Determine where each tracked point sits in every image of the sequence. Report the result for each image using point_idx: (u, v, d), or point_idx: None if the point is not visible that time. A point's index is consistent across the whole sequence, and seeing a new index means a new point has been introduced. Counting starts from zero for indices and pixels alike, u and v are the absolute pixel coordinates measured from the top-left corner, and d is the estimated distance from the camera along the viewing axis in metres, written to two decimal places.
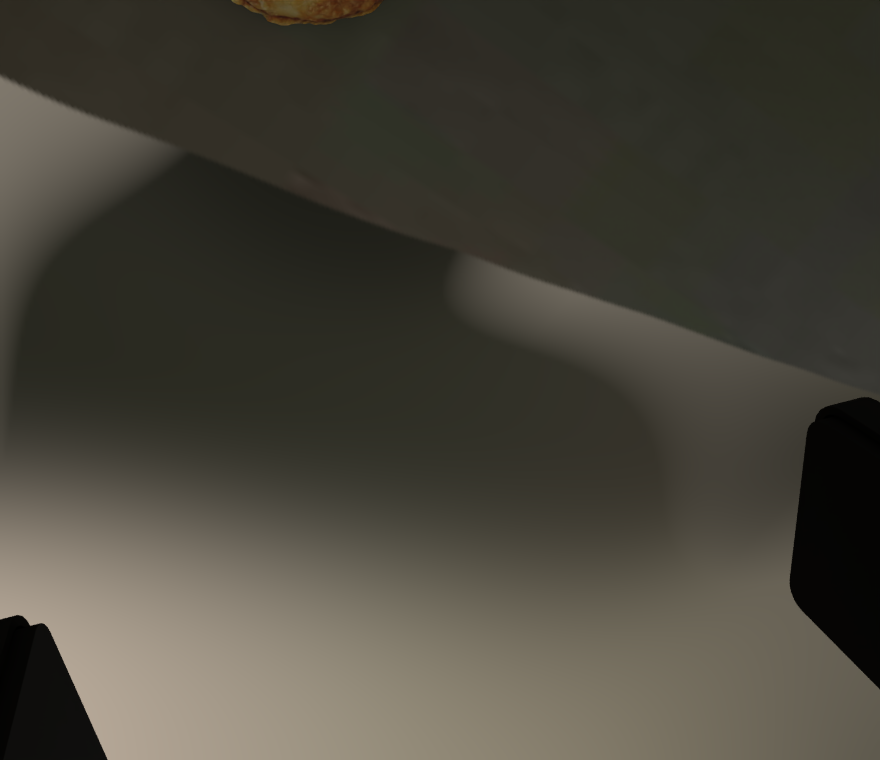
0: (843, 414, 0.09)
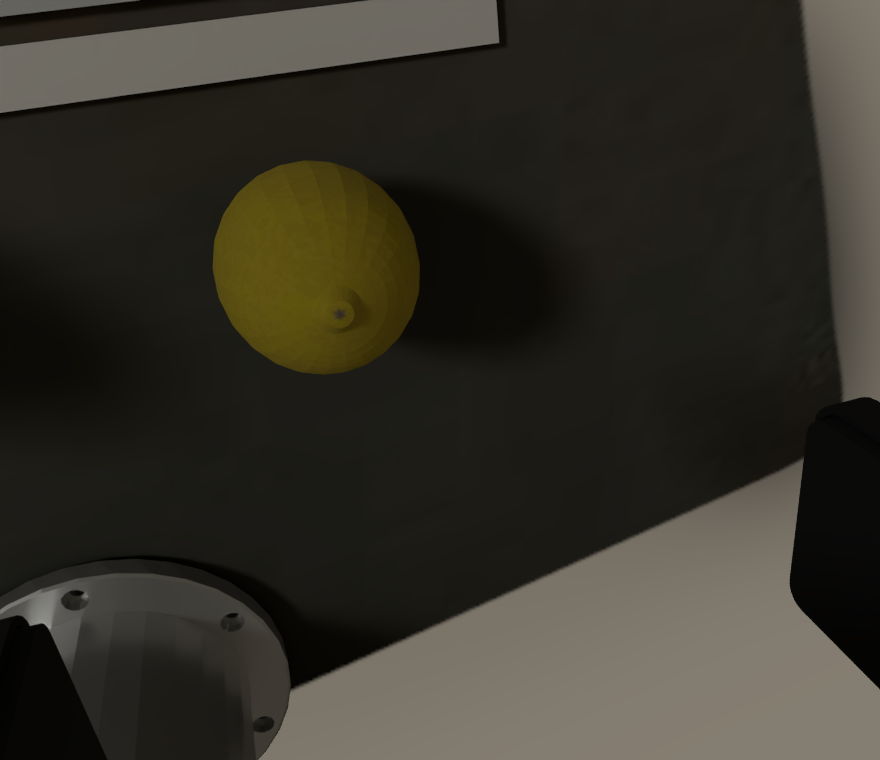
0: (843, 414, 0.09)
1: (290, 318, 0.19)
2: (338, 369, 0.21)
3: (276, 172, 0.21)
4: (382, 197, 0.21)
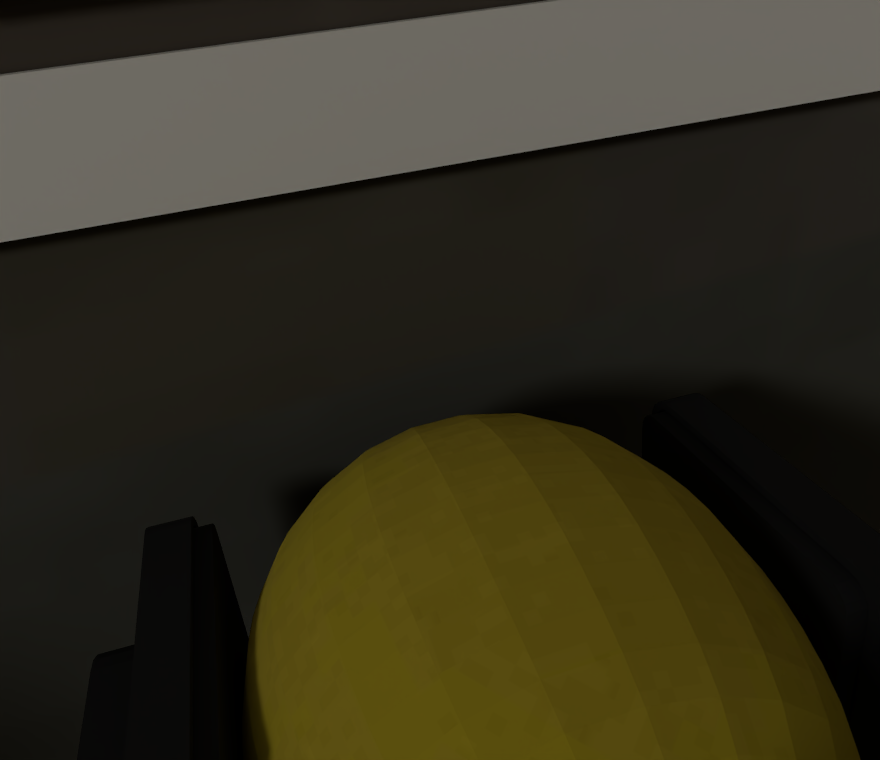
0: (670, 409, 0.10)
1: None
2: None
3: (437, 510, 0.07)
4: (761, 588, 0.07)
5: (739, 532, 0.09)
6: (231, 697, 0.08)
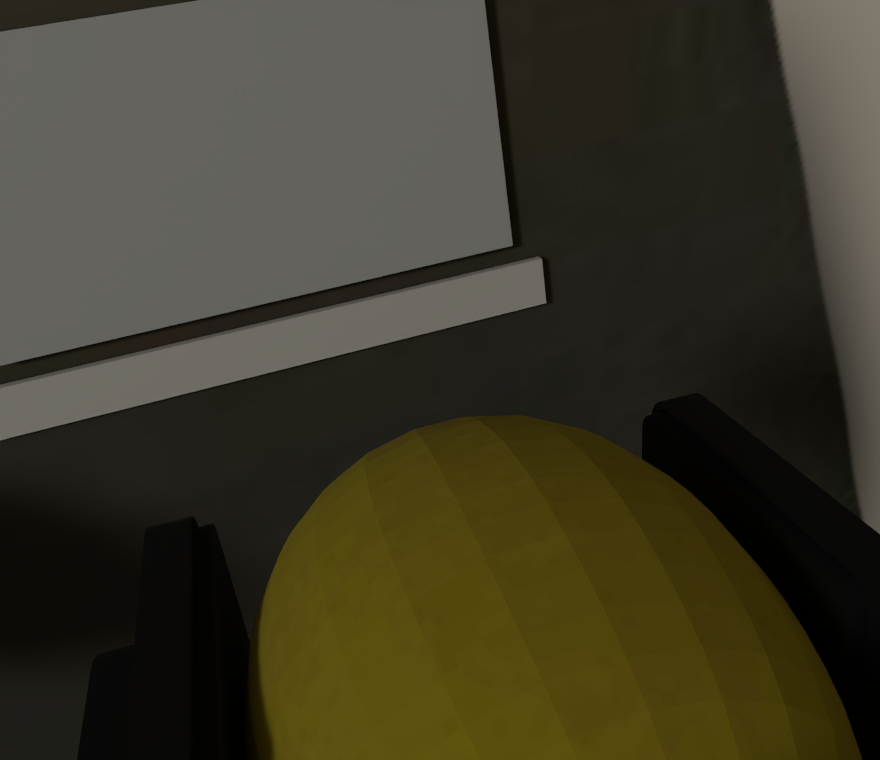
0: (670, 409, 0.10)
1: None
2: None
3: (440, 513, 0.07)
4: (763, 591, 0.07)
5: (739, 532, 0.09)
6: (231, 697, 0.08)
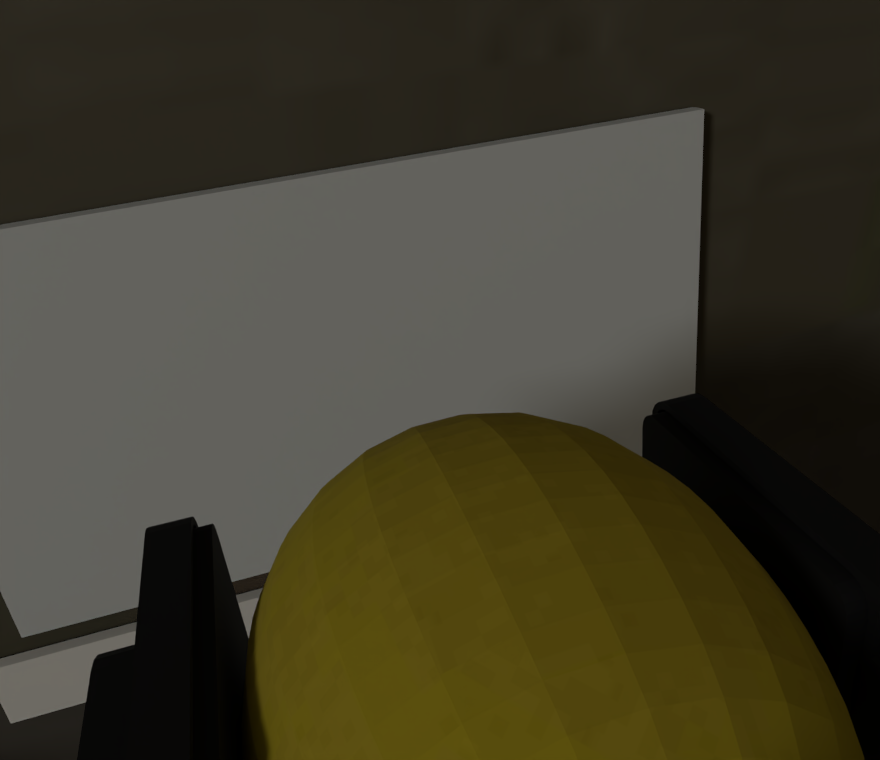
0: (670, 409, 0.10)
1: None
2: None
3: (438, 510, 0.07)
4: (764, 588, 0.07)
5: (739, 532, 0.09)
6: (231, 697, 0.08)
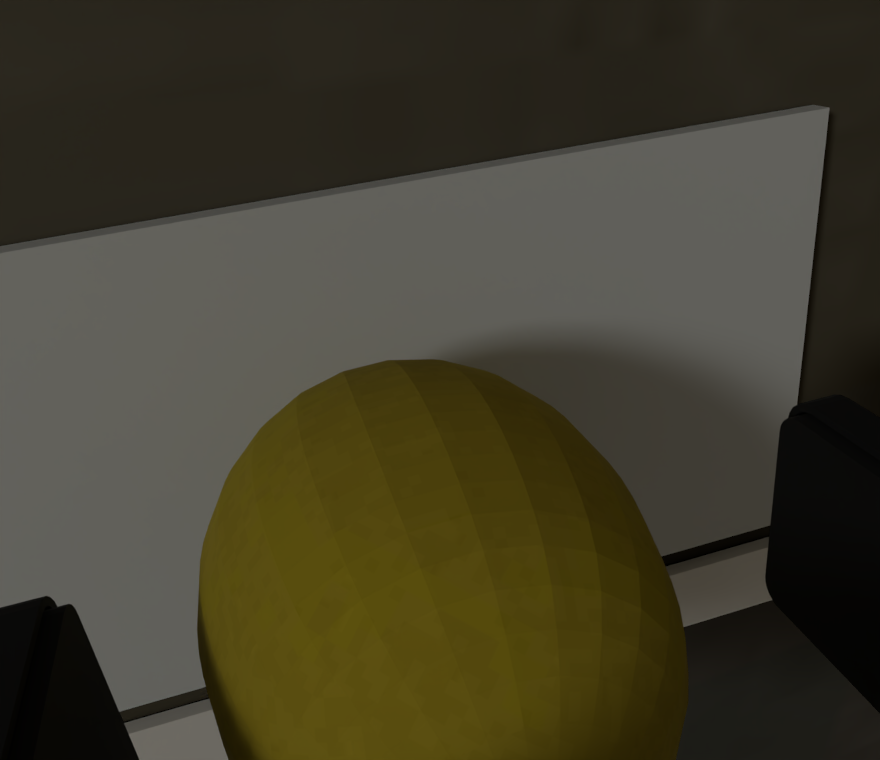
0: (814, 411, 0.10)
1: None
2: None
3: (346, 423, 0.09)
4: (603, 482, 0.09)
5: None
6: None
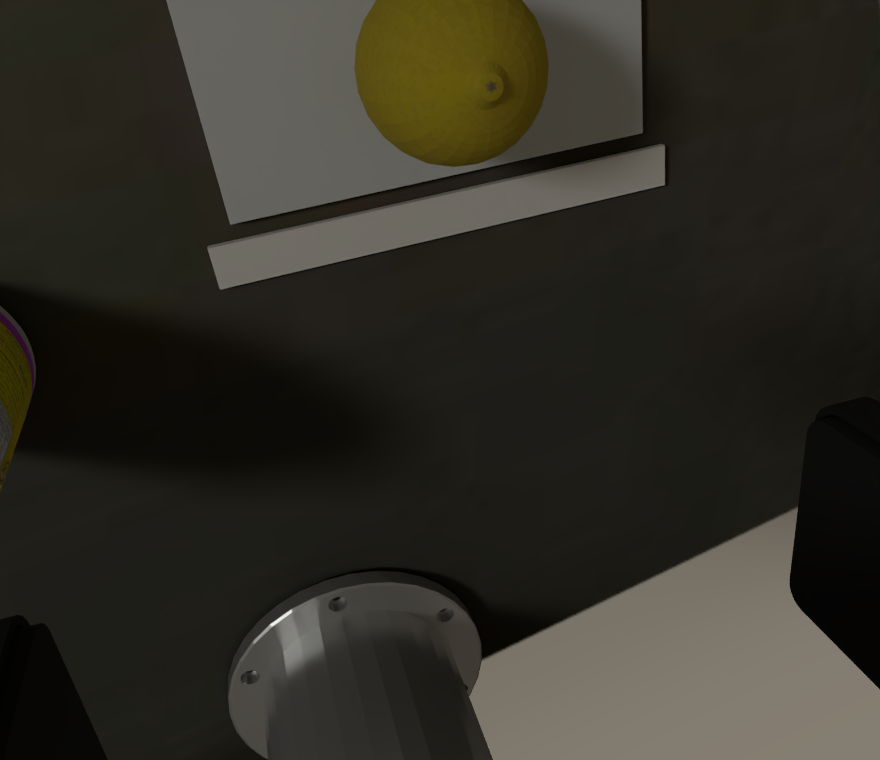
0: (843, 414, 0.09)
1: (444, 95, 0.21)
2: (479, 154, 0.23)
3: None
4: None
5: None
6: None
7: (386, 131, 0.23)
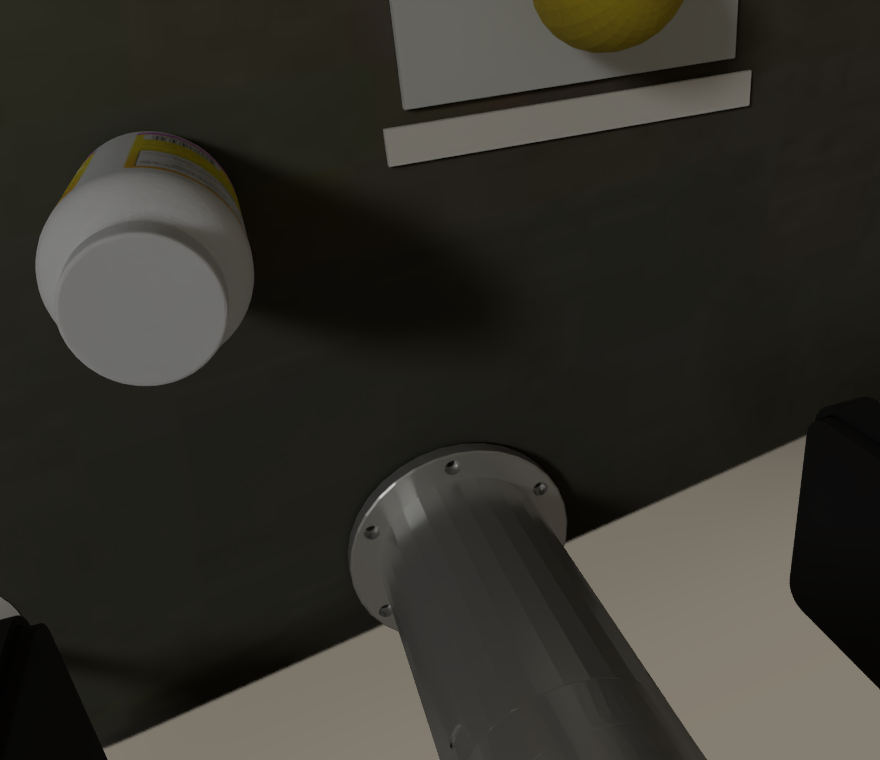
0: (843, 414, 0.09)
1: None
2: (636, 33, 0.29)
3: None
4: None
5: None
6: None
7: (560, 17, 0.30)
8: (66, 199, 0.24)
